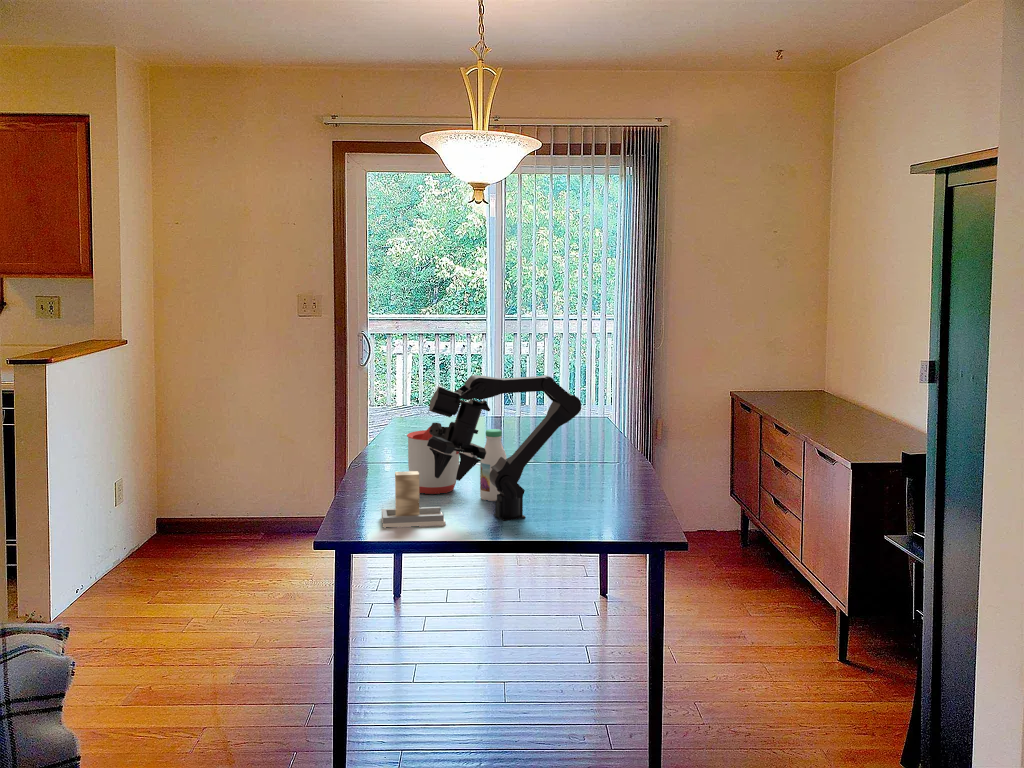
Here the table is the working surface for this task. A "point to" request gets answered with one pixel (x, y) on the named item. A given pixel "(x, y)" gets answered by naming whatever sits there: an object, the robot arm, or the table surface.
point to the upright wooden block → (407, 493)
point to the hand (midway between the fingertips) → (447, 479)
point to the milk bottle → (490, 463)
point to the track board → (414, 518)
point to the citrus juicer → (430, 465)
